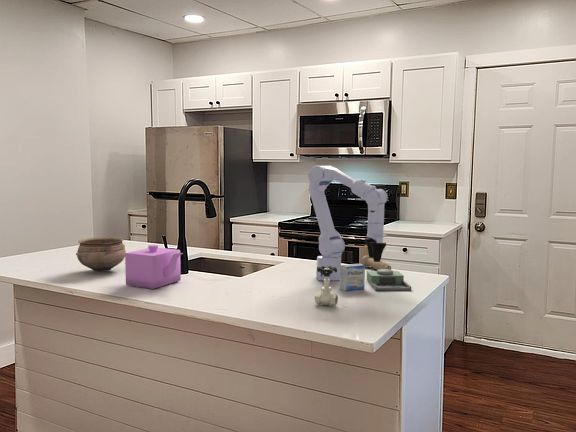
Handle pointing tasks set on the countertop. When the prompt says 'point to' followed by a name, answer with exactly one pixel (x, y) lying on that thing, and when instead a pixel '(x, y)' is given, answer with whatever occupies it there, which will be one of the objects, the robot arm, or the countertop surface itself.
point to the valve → (326, 288)
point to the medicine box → (352, 277)
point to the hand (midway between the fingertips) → (374, 259)
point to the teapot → (152, 267)
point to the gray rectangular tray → (391, 287)
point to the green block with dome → (385, 277)
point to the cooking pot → (101, 253)
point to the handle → (374, 263)
